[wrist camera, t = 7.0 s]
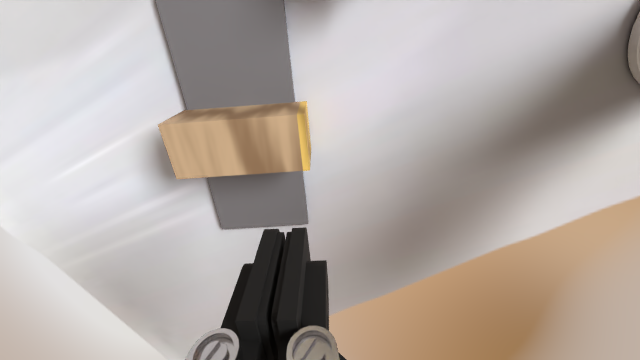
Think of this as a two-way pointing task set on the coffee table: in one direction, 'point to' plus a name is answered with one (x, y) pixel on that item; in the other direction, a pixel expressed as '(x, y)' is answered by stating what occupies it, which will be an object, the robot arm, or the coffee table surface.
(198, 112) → the oak block
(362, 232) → the coffee table surface
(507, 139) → the coffee table surface
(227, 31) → the mat
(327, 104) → the coffee table surface
